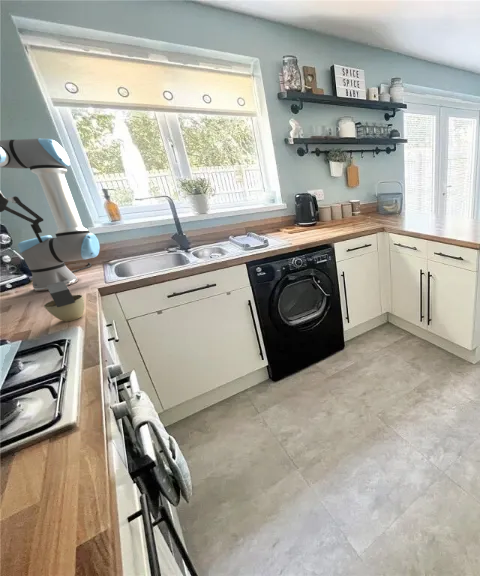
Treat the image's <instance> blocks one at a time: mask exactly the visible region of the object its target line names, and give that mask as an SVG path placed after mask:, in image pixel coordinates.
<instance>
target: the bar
mask: <svg viewBox="0 0 480 576" xmlns="http://www.w3.org/2000/svg"><path fill="white" fill-rule="evenodd" d="M47 287H48V290H47V291H48V292H49V294H50V296H51V298H52V301H53V300H54V302H55V304H56V306H57V307H61V306H65V305H68V304H72V303H75V300H74V298H73V296H72V295H73V294H72V292H71V290H70V289H69V287H68V286H66V284H65V282H60V283H55V284H51V285H47Z"/></svg>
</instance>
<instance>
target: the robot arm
mask: <svg viewBox="0 0 480 576" xmlns="http://www.w3.org/2000/svg"><path fill="white" fill-rule="evenodd" d="M70 165H71V161H70V158H69V156H68V154H67V152H66V150H65V149H64V147H62V145H61V144H59V142H57V141H56V140H54V139H52V138H42V137H40V138H39V137H38V138H24V139H23V138H22V139H21V138H20V139H19V138H18V139H2V140H0V168H6V169H29V170H30V172H31V173H33V174H35V175H36V176H37V178H38V181H39V183H40V185H41V188H42V191H43V194H44V196H45V199H46V201H47V205H48V206H49V209H50V212H51V214H52V217H53V220H54V222H55V226H56V228H57V230H56V231H55V233H54V235H55V237H53V235H50V234H47V235H43V236H42V235H40V234H41V233H43V231H42V228H41V226H40V225H39V224H40V223H41V222H44V218H43V217H42V216H40V215H38V214H37V213H36V212H35V211H34V210H32V209H31V208H29V206H27V205H25V203H23V202H22V200H20V198H19V197H18V196H17V195H14V196H12V197H11V196H10V197H5V196H4V194H3V192H2V190H0V213H2V212H4V211H6V212H8V213H11V214H12V215H15V216H16V217H18V218H21V219H23V220H25V221H27V222H29V223H30V227H31V229H32V231H33V233H34V235H35V236H36V237H34V238H30V239H26V240H23V241H20V242H18V244H17V248H18V251H19V254H21V257H22V258H23V260H24V262H25V264H26V265H27V267H28V270H29V271H30V273H31V276H32V277H31V278H32V288H33V290H34V291H35V292H46V291H49V290H48V287H47V285H51V284H55V283H60V282H65V284H66V286H67V287H68V286H71V285H73V284H75V283H78V282H79V279H78V277H77V275H75V272H79V271H82V270H85V269H88V268H91V267H92V263H91V262H87V263H88V264H87V266H85V267H84V266H83V267H81V268H78V269H74V270H70V269H69V268H68V267H67V265H66V263H68V262H76V261H83V260H84V261H85V260H88V259H93V258H96V257H98V255H99V254H100V249H101V246H100V242H99V241H100V240H99V239H98V237H97V236H96V235H95V233H92V232H90V229H88V228H86V227H84V226H83V223H82V220H81V217H80V214H79V211H78V208H77V205H76V203H75V201H74V198H73V195H72V191H71V190H70V187H69V185H68V182H67V178H66V176H65V175H66V173H67V172H68V169H67V167H69V166H70ZM9 202H11V203H12V204H17V205H18V207H21V208H22V209H23V210H24V211H26V212H27V213H28V214H30V215H31V216H33V217H34V218H35V219H33V218H32V217H29V216H27V215H25V214H23V213H21V212H19V211H17V210H15V209H13V208H11V207H9V206H7V205H8V203H9Z"/></svg>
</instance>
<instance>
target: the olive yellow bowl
mask: <svg viewBox="0 0 480 576" xmlns="http://www.w3.org/2000/svg"><path fill="white" fill-rule="evenodd" d="M72 296H73V298H74V300H75V303H72V304H68V305H65V306H61V307H57V306H56V304H55V302H54V300H53V299H52V300H51V301H48V302H46V303H45V304H44V305H43V307H44V308H45V310H46V311H47V312H48V313H50V315H52V316H54V317H55V318H56V319H58V320H60V321H62V322H67V323H68V322H73V321H76V320H78V319H80V318H82V317H83V315H84V311H85V299H84V296H83V295H82V294H72Z"/></svg>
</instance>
